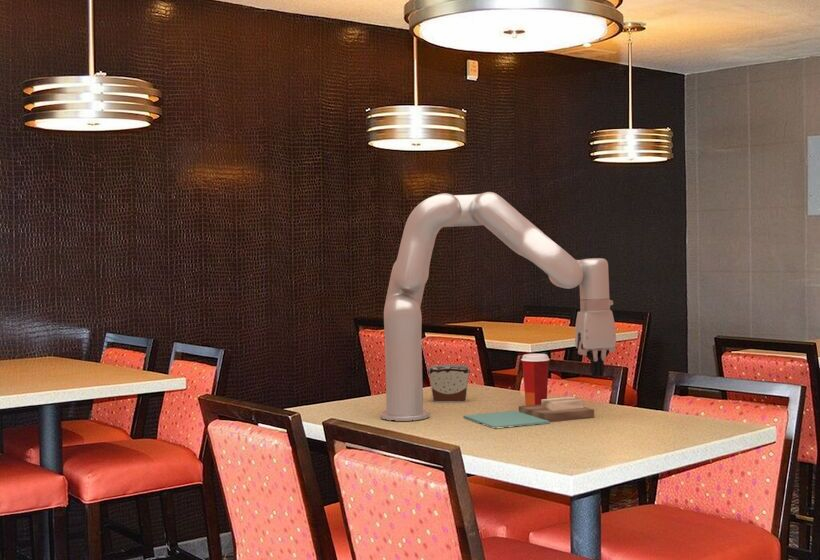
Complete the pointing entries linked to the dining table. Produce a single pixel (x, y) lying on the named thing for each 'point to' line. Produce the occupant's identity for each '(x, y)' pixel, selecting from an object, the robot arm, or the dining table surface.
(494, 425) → the mat
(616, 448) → the dining table surface
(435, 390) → the food container
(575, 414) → the block
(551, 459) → the dining table surface
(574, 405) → the beige flat block
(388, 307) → the robot arm
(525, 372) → the paper cup
